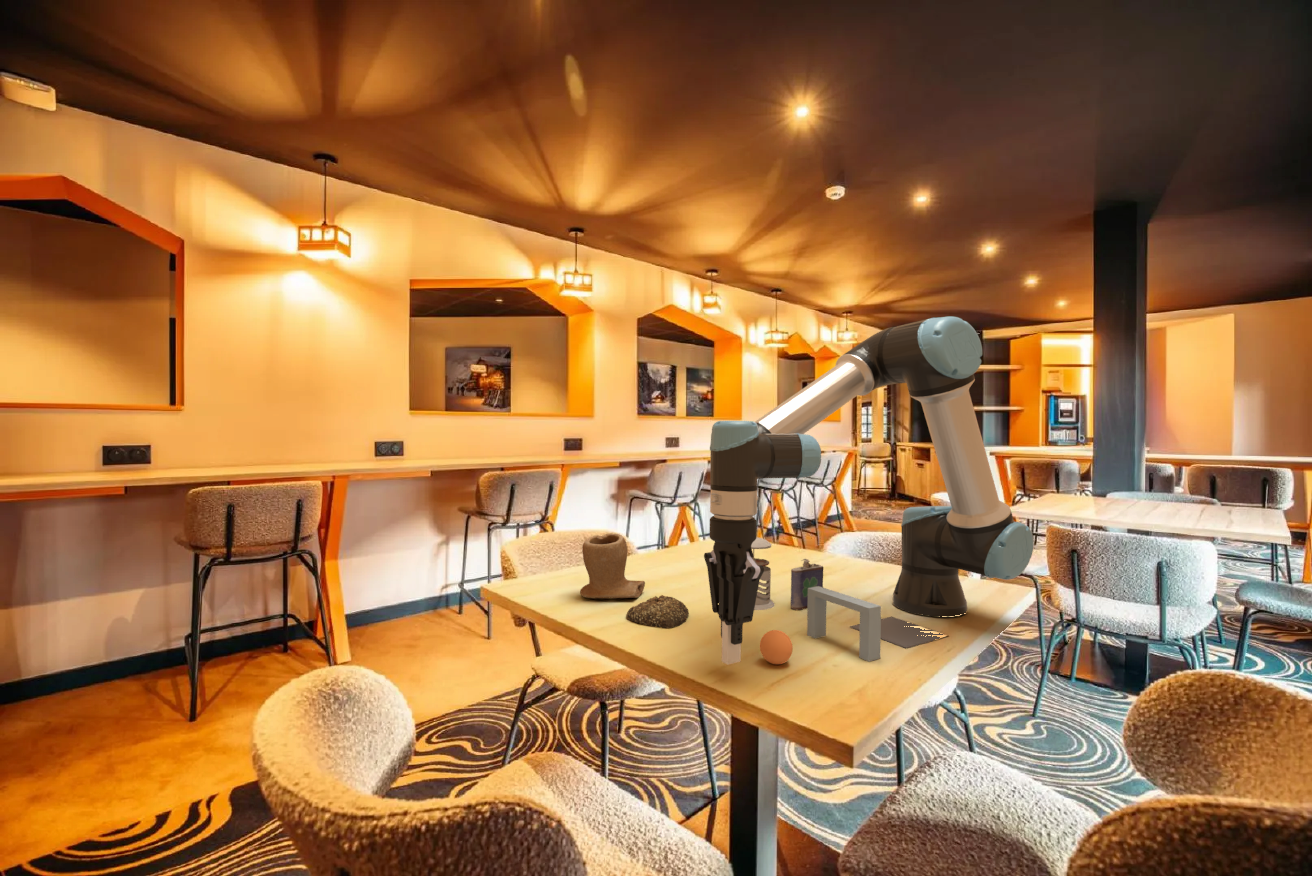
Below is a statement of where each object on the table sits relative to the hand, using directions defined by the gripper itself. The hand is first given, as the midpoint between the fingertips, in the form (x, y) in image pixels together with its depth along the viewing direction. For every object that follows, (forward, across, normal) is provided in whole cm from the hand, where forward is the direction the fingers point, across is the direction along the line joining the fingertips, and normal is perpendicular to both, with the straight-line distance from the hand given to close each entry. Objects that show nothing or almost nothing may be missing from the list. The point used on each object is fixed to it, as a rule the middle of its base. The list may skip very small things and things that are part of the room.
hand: (731, 661), depth 92 cm
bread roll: (+3, -30, +4) cm, 31 cm away
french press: (+2, -29, +28) cm, 40 cm away
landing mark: (+2, 0, +42) cm, 42 cm away
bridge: (+2, 0, +26) cm, 26 cm away
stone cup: (+3, -48, +2) cm, 48 cm away
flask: (+2, -21, +38) cm, 43 cm away
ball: (-1, 0, +10) cm, 10 cm away
